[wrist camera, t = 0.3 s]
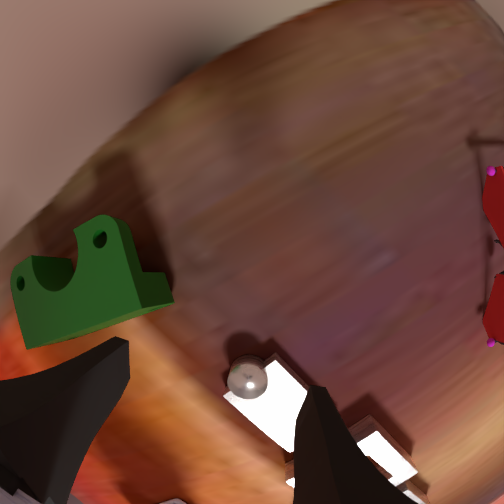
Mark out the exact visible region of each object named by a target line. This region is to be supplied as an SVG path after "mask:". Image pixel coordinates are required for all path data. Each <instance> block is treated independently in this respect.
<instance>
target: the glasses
mask: <svg viewBox="0 0 504 504" xmlns="http://www.w3.org/2000/svg"><path fill="white" fill-rule="evenodd" d="M482 201H483V211H484V212H485V214H486V216H487V218H488V220H489V221H490V223H491V225H492V227H493V229H494V230H495V232H496V234H497V236H498V238H499V240H494V241H496V243H499V244H501V246H502V247H503V248H504V167H503V166H499V167H495V168H494V167H493V166H488V167H487V177H486V182H485V187H484V192H483V196H482ZM494 278H495V281H494V284H493V288H492V291H491V295H490V298H489V302H488V305H487V308H486V311H485V314H484V317H483V325H484V327H485V330H486V332H487V334H488V337H489V339H488V341H487V345H488V346H489V347H492V346H493V345H494V343H496V342H499V343H500V344H502V345H504V271H502V272H501V273H499V274H496V276H495V277H494Z"/></svg>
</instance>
